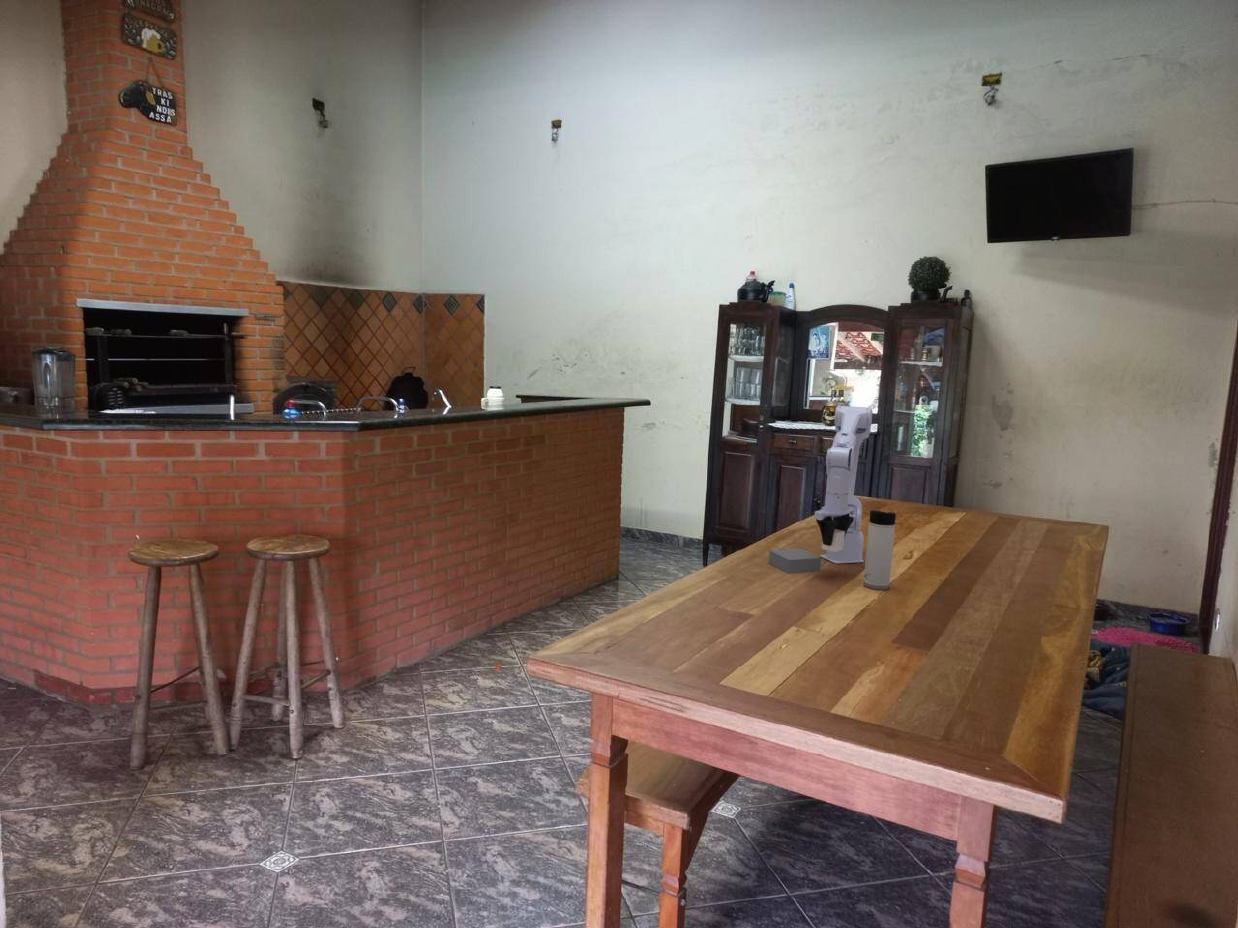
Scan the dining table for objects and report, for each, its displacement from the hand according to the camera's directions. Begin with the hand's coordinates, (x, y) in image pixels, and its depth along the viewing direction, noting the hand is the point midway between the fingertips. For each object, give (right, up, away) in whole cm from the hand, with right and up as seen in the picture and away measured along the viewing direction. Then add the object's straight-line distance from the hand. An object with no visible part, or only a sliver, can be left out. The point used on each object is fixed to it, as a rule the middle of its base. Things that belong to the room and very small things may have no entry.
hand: (832, 543), depth 203 cm
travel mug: (+9, -11, -6) cm, 15 cm away
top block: (0, -1, 0) cm, 1 cm away
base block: (-8, -8, +9) cm, 15 cm away
